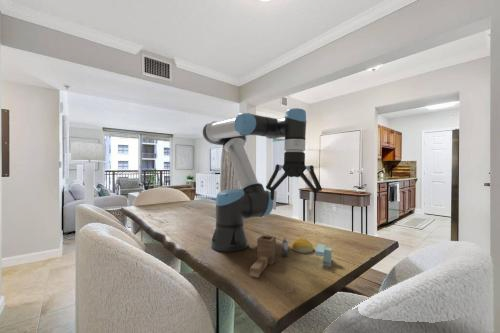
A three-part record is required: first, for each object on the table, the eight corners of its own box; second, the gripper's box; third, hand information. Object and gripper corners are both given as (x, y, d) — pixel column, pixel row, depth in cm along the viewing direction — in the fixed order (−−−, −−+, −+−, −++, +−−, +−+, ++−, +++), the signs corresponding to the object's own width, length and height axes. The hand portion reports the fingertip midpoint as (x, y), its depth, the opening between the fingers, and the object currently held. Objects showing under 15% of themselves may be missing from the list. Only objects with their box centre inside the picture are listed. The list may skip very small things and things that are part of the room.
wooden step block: (262, 278, 66) (262, 251, 66) (245, 275, 68) (246, 248, 68) (275, 259, 80) (275, 236, 81) (261, 257, 82) (262, 235, 82)
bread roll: (291, 252, 88) (291, 242, 88) (293, 245, 96) (293, 236, 96) (313, 255, 86) (313, 244, 86) (313, 247, 94) (313, 237, 94)
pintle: (281, 256, 83) (281, 238, 83) (282, 254, 85) (283, 237, 85) (287, 257, 82) (287, 239, 82) (288, 255, 84) (288, 238, 84)
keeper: (315, 265, 76) (315, 251, 76) (317, 256, 83) (317, 244, 83) (331, 267, 74) (331, 253, 74) (331, 258, 81) (331, 245, 82)
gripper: (261, 150, 79) (259, 210, 79) (332, 152, 79) (330, 212, 79) (260, 151, 86) (258, 206, 86) (325, 153, 86) (323, 208, 86)
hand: (292, 209), depth 83 cm, fingers open, 13 cm apart
